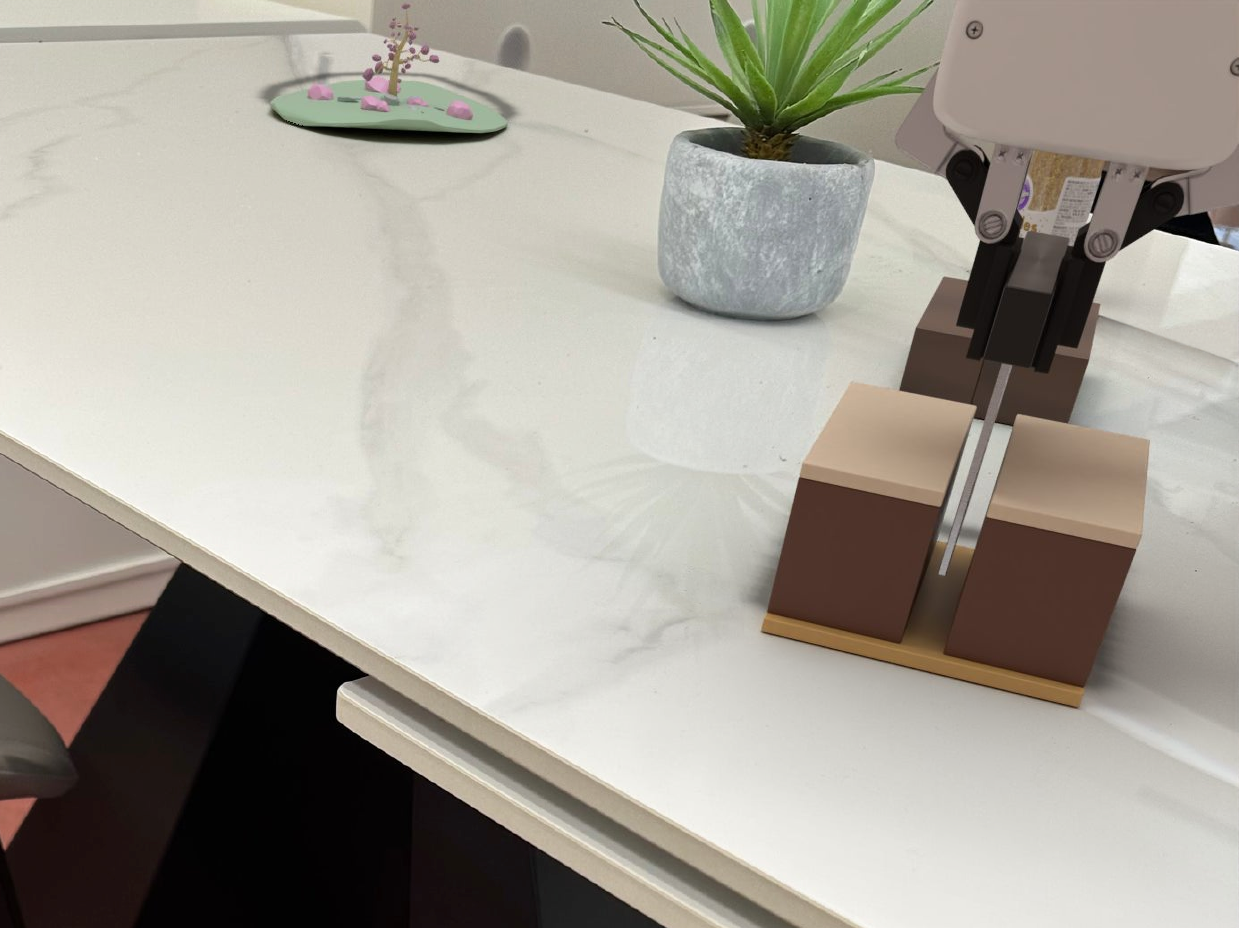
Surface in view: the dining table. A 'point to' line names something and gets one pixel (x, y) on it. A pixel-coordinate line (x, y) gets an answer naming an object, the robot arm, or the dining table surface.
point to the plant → (388, 100)
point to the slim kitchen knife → (1013, 342)
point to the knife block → (989, 366)
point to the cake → (976, 578)
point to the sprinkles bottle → (1058, 193)
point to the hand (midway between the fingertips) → (1010, 353)
